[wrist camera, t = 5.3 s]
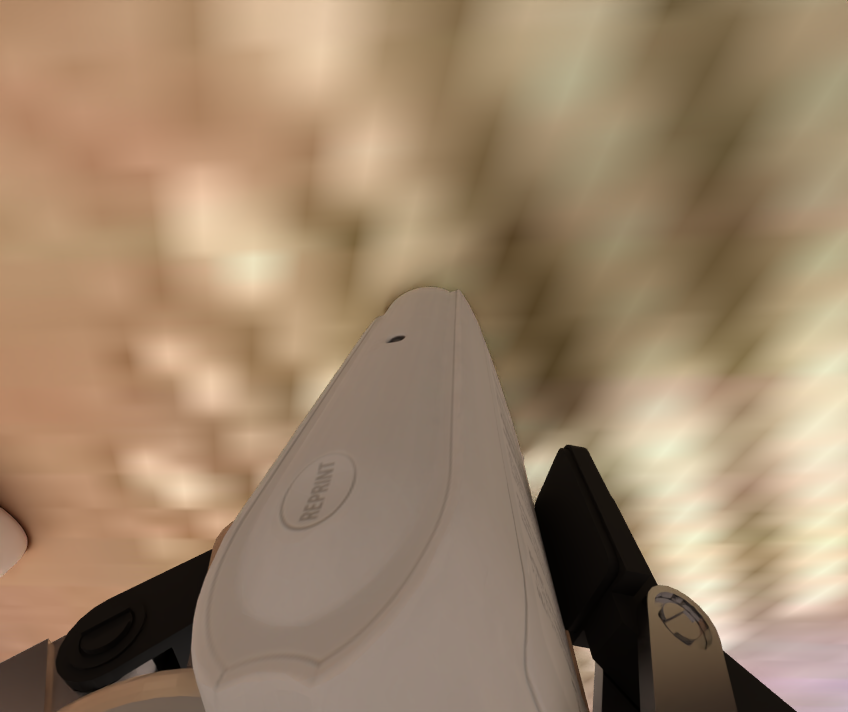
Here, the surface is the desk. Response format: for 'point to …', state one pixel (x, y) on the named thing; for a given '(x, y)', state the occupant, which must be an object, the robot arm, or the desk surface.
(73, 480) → the desk surface
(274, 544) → the photo printer
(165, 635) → the robot arm
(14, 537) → the mug
